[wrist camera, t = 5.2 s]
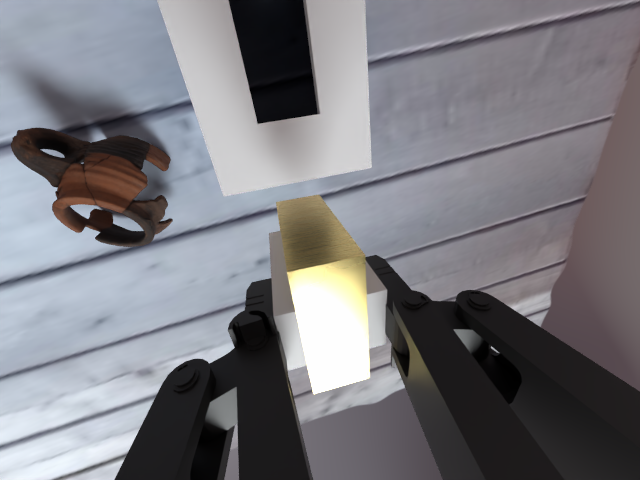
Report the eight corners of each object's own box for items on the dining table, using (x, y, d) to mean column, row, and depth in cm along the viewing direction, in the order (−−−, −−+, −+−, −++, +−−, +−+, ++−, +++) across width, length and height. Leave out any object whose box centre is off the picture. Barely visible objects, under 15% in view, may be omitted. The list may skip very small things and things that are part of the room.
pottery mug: (202, 169, 27) (180, 228, 22) (164, 207, 32) (139, 262, 27) (58, 75, 19) (-23, 135, 14) (36, 144, 24) (-30, 207, 19)
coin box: (236, 172, 27) (223, 196, 18) (166, -60, 19) (83, -217, 10) (338, 153, 29) (371, 167, 20) (315, -69, 20) (356, -214, 12)
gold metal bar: (294, 288, 16) (313, 394, 10) (276, 202, 13) (286, 272, 7) (329, 280, 16) (369, 377, 10) (318, 194, 13) (365, 255, 7)
